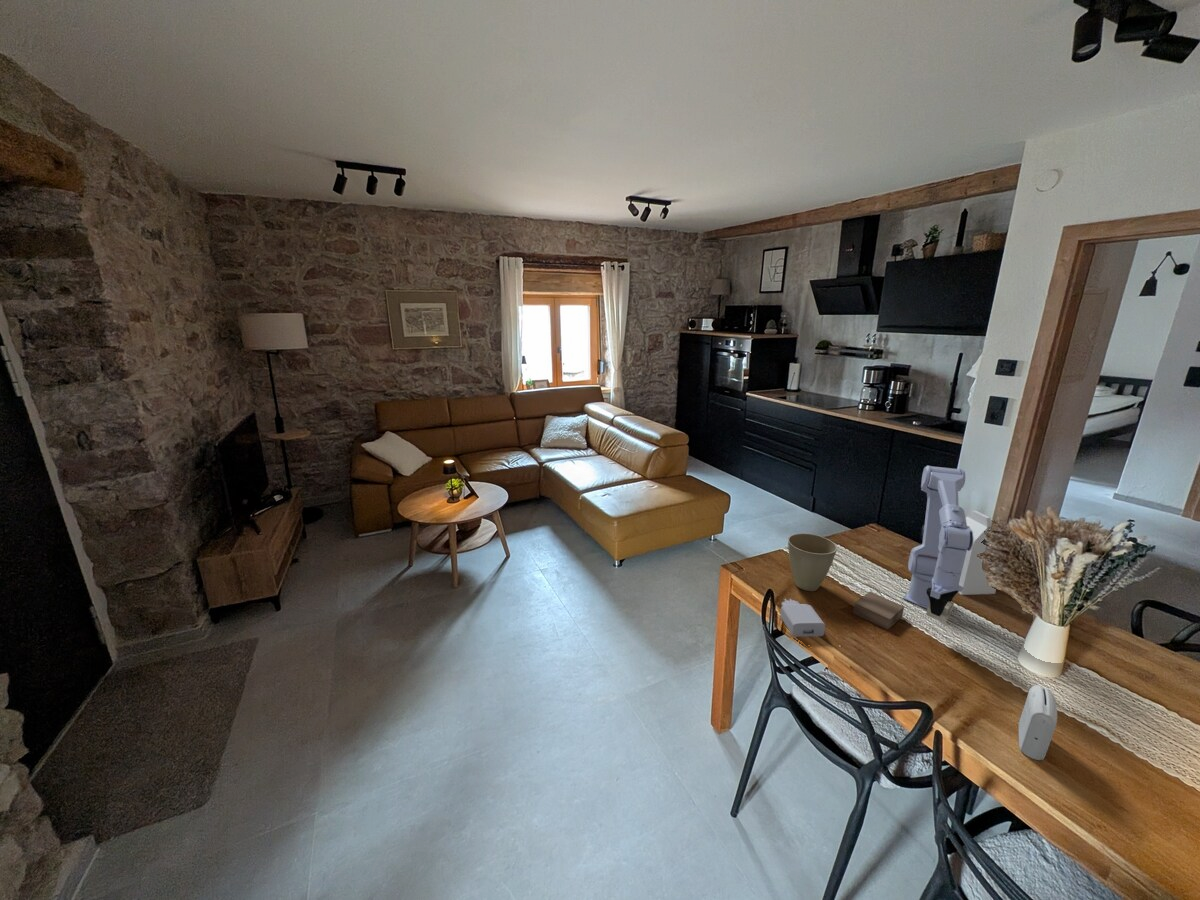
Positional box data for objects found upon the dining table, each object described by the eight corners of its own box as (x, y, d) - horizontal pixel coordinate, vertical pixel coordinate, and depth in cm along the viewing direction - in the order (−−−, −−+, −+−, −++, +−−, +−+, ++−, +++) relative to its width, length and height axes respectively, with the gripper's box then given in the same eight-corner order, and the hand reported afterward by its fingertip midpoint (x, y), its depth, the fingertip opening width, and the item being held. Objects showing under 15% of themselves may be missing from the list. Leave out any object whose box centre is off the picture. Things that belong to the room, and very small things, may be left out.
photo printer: (1045, 765, 95) (1062, 717, 91) (1017, 753, 97) (1032, 706, 94) (1042, 731, 102) (1057, 686, 99) (1017, 721, 105) (1030, 676, 101)
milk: (934, 574, 163) (949, 507, 156) (966, 574, 163) (982, 506, 156) (961, 594, 151) (978, 522, 144) (995, 593, 152) (1014, 521, 144)
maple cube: (932, 608, 133) (935, 595, 132) (950, 616, 130) (953, 602, 129) (926, 614, 131) (929, 601, 130) (944, 622, 127) (948, 609, 126)
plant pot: (840, 595, 152) (847, 552, 147) (798, 599, 150) (803, 555, 145) (814, 571, 166) (819, 531, 161) (775, 575, 164) (779, 534, 159)
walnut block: (867, 602, 149) (869, 591, 148) (901, 617, 141) (904, 606, 140) (852, 613, 143) (854, 602, 142) (887, 630, 135) (889, 619, 134)
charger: (801, 605, 147) (823, 636, 133) (772, 606, 147) (791, 637, 133) (802, 592, 146) (825, 622, 131) (773, 593, 146) (793, 623, 131)
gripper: (956, 583, 119) (946, 628, 123) (975, 565, 127) (964, 607, 131) (925, 572, 124) (916, 615, 128) (945, 555, 133) (936, 596, 137)
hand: (938, 610), depth 130 cm, fingers closed on maple cube, 4 cm apart
